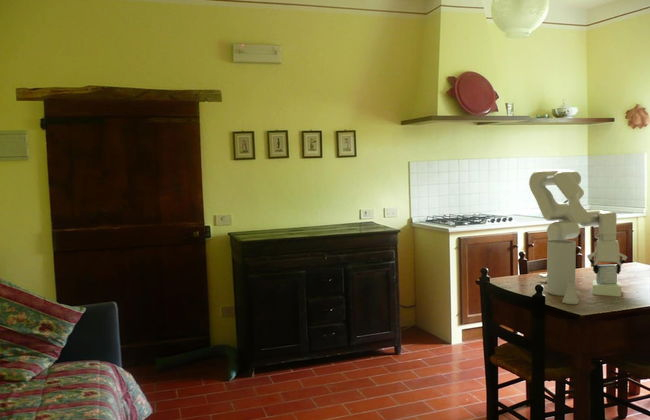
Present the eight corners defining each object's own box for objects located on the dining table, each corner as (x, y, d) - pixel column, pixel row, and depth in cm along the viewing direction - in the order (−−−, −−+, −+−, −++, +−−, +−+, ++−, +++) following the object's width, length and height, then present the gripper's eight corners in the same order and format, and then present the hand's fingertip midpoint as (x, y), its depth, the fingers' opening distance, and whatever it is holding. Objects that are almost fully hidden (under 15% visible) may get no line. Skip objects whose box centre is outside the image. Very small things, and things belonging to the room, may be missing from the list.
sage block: (592, 295, 268) (592, 285, 268) (593, 290, 279) (593, 280, 278) (621, 297, 263) (621, 286, 262) (620, 291, 273) (620, 281, 273)
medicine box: (612, 281, 273) (612, 264, 272) (617, 283, 268) (617, 265, 268) (596, 282, 273) (596, 264, 272) (600, 284, 268) (600, 266, 267)
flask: (564, 300, 259) (564, 278, 258) (581, 302, 254) (581, 280, 254) (559, 303, 253) (559, 281, 252) (576, 305, 249) (577, 283, 248)
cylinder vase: (550, 296, 266) (551, 243, 264) (544, 290, 279) (544, 239, 276) (578, 296, 265) (579, 243, 262) (570, 290, 277) (571, 239, 275)
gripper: (589, 238, 267) (588, 274, 268) (629, 238, 263) (628, 275, 264) (585, 236, 274) (585, 271, 275) (624, 236, 270) (624, 272, 272)
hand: (606, 273), depth 270 cm, fingers open, 9 cm apart
